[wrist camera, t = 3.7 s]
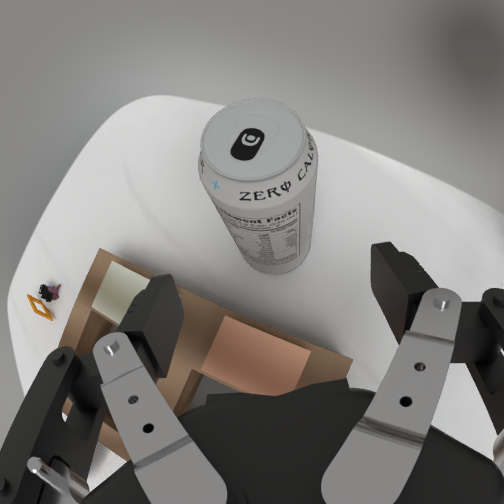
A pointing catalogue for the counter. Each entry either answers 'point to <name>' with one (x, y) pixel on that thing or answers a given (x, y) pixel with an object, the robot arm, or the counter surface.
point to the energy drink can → (262, 180)
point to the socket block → (196, 346)
